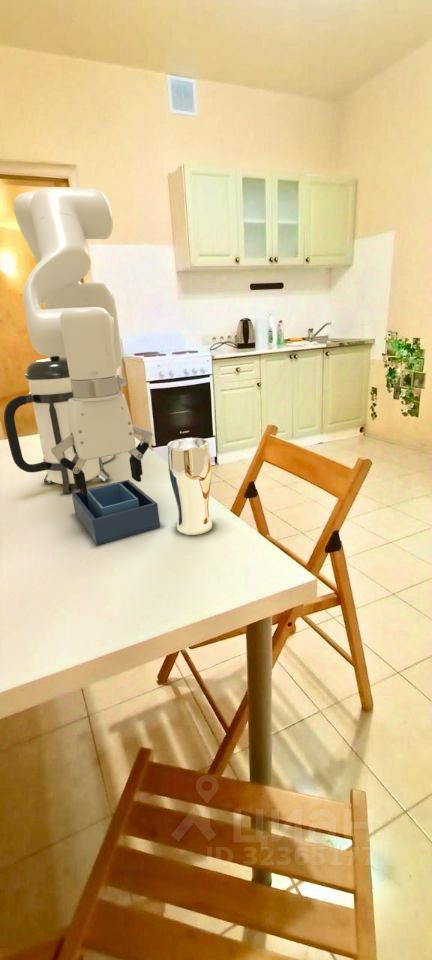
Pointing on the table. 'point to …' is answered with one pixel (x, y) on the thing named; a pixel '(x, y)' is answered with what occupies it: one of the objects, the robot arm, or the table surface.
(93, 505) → the small bin
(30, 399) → the coffee press
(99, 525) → the big bin
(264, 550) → the table surface
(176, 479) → the beer glass
